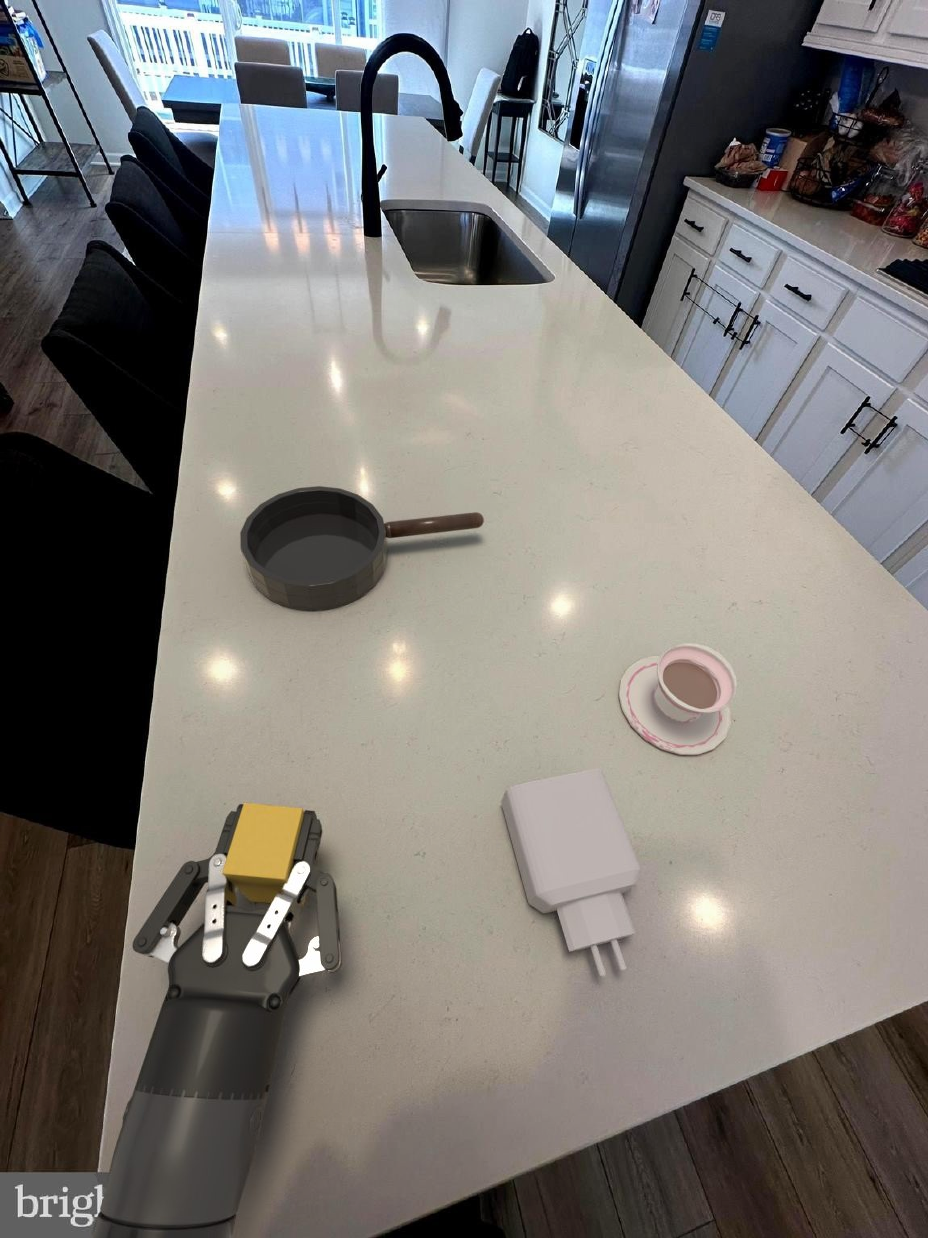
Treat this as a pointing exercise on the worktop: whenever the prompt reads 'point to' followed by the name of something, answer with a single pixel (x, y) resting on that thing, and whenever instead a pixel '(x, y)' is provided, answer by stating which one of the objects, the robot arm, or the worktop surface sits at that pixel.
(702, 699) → the teacup
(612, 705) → the worktop surface
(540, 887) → the charger
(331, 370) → the worktop surface
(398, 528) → the pan handle
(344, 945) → the worktop surface
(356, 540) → the pan
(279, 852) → the cheese
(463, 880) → the worktop surface
